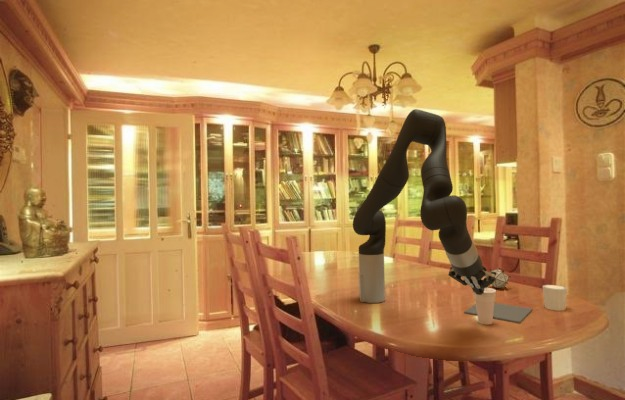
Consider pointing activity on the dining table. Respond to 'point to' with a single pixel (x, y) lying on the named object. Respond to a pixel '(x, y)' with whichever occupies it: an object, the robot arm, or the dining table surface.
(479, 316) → the smoothie
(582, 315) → the dining table surface
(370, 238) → the robot arm
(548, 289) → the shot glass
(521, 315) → the mat
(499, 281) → the game die
